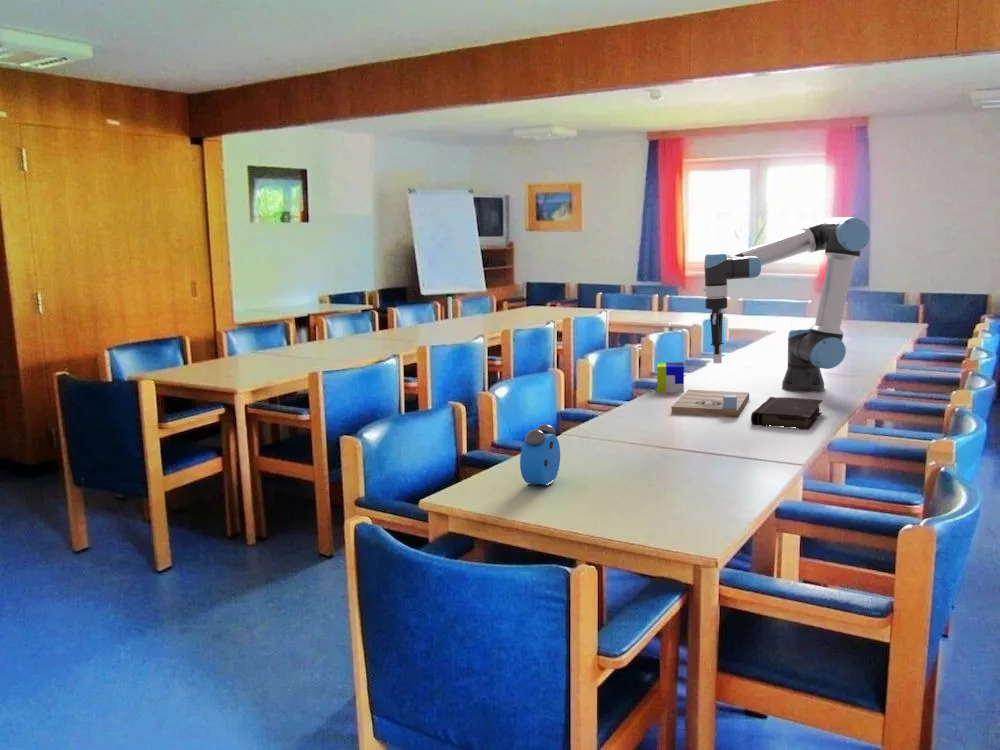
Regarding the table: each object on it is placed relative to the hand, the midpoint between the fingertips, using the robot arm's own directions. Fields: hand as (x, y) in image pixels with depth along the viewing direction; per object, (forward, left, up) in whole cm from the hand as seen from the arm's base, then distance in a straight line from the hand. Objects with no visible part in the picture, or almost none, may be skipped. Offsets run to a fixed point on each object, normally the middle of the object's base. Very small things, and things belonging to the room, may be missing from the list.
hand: (717, 362), depth 294 cm
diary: (-26, +20, -15) cm, 36 cm away
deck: (+1, +7, -14) cm, 16 cm away
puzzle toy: (+21, -18, -15) cm, 31 cm away
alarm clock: (+27, +109, -15) cm, 113 cm away
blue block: (-7, +20, -12) cm, 24 cm away
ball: (+1, +15, -13) cm, 19 cm away
